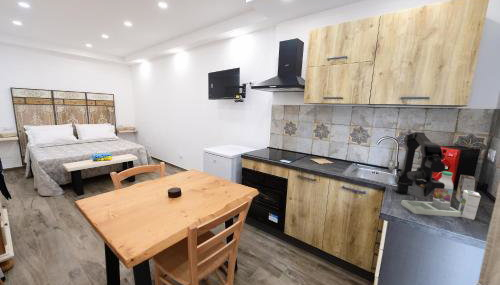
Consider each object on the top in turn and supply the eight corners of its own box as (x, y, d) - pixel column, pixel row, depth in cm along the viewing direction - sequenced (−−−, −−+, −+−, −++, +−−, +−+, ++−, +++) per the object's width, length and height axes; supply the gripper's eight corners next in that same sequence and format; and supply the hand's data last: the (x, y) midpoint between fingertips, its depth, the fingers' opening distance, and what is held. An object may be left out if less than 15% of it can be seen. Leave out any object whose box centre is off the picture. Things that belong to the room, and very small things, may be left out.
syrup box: (456, 213, 112) (462, 189, 110) (472, 217, 109) (478, 192, 106) (458, 217, 108) (464, 192, 106) (474, 222, 104) (481, 195, 102)
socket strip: (400, 205, 119) (401, 200, 119) (441, 208, 118) (442, 202, 117) (414, 215, 108) (415, 209, 108) (459, 218, 107) (461, 212, 107)
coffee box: (472, 205, 125) (479, 180, 122) (458, 201, 128) (464, 177, 125) (468, 199, 132) (474, 176, 129) (454, 197, 136) (460, 174, 133)
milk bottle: (432, 199, 130) (439, 169, 127) (449, 203, 125) (456, 172, 122) (431, 202, 125) (438, 171, 122) (449, 207, 120) (456, 175, 116)
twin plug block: (431, 208, 115) (433, 197, 114) (440, 208, 115) (443, 197, 114) (438, 212, 110) (441, 201, 109) (448, 213, 110) (451, 201, 109)
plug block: (422, 195, 114) (424, 183, 113) (429, 199, 109) (431, 187, 108) (412, 194, 115) (415, 183, 113) (419, 198, 110) (422, 186, 109)
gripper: (400, 161, 119) (395, 186, 121) (425, 171, 100) (419, 201, 103) (419, 162, 118) (414, 187, 121) (448, 173, 100) (442, 202, 102)
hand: (421, 194), depth 112 cm, fingers closed on plug block, 5 cm apart
